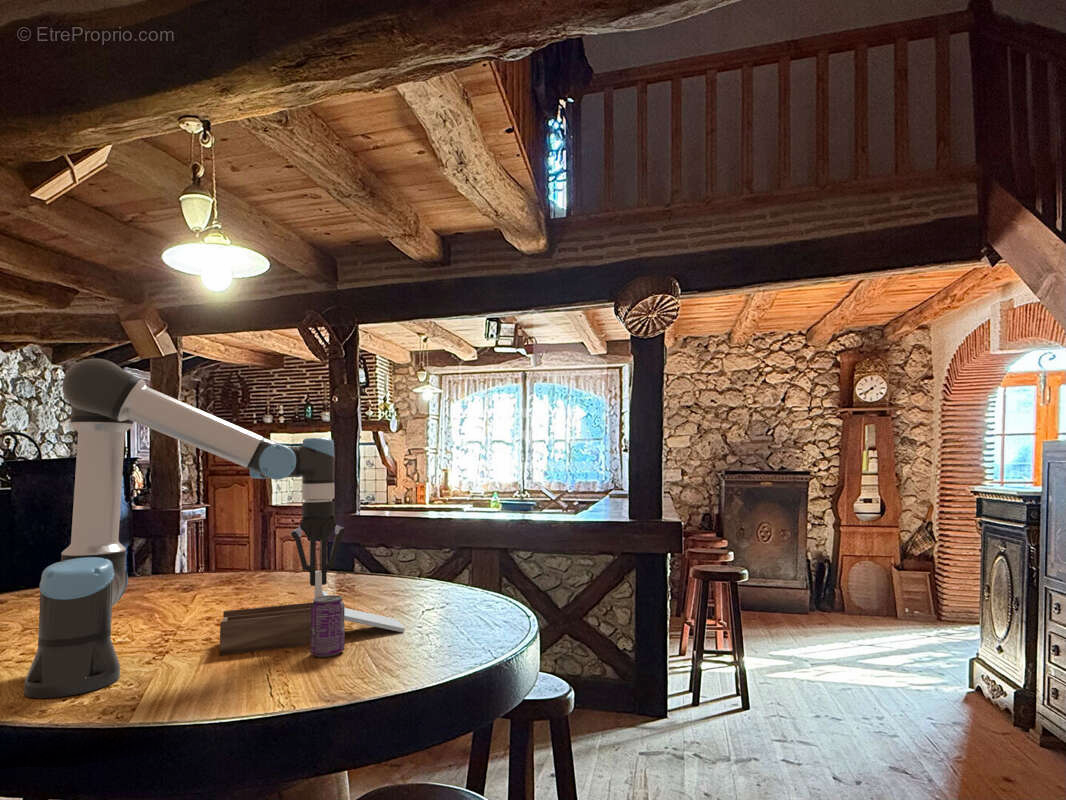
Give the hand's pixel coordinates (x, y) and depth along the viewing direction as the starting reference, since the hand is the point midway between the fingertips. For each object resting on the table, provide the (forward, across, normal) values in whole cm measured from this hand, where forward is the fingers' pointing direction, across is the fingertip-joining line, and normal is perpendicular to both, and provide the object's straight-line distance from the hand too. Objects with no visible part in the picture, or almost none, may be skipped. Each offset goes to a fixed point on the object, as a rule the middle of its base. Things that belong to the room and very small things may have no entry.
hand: (318, 598), depth 157 cm
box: (+9, +10, 0) cm, 14 cm away
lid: (+6, -10, 0) cm, 11 cm away
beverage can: (+9, -1, +16) cm, 18 cm away
